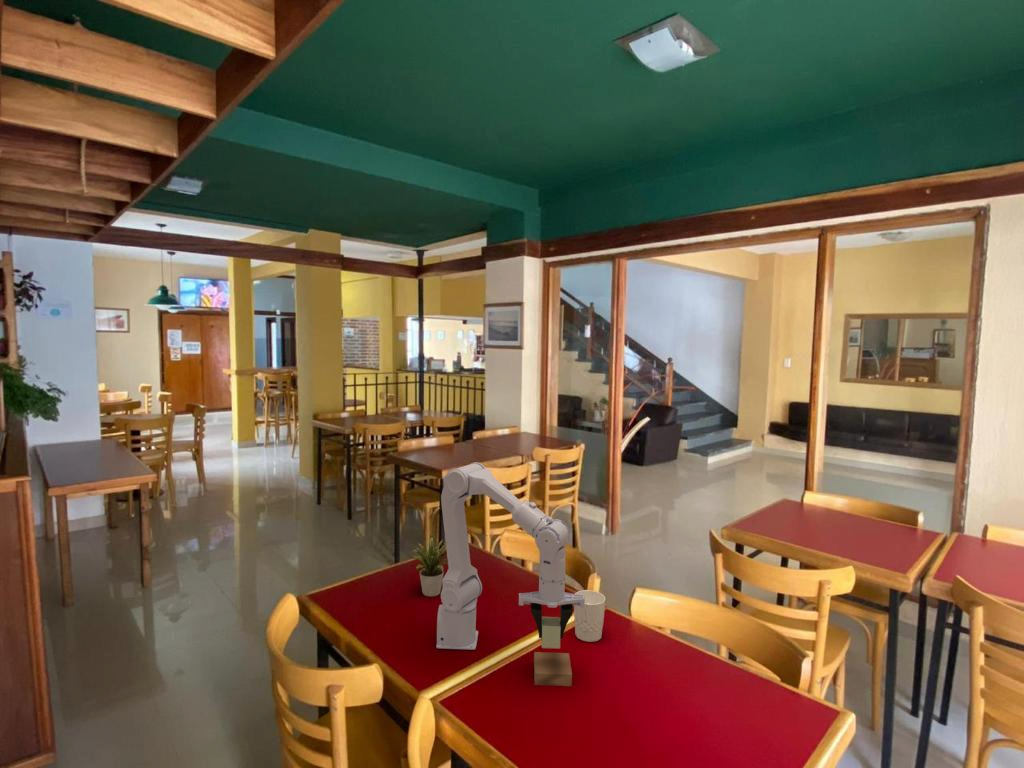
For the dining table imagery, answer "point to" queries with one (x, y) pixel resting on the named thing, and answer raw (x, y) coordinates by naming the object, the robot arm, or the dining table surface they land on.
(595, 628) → the white cup
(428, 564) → the house plant
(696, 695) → the dining table surface
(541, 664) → the walnut base
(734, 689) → the dining table surface
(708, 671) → the dining table surface
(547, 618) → the green block
